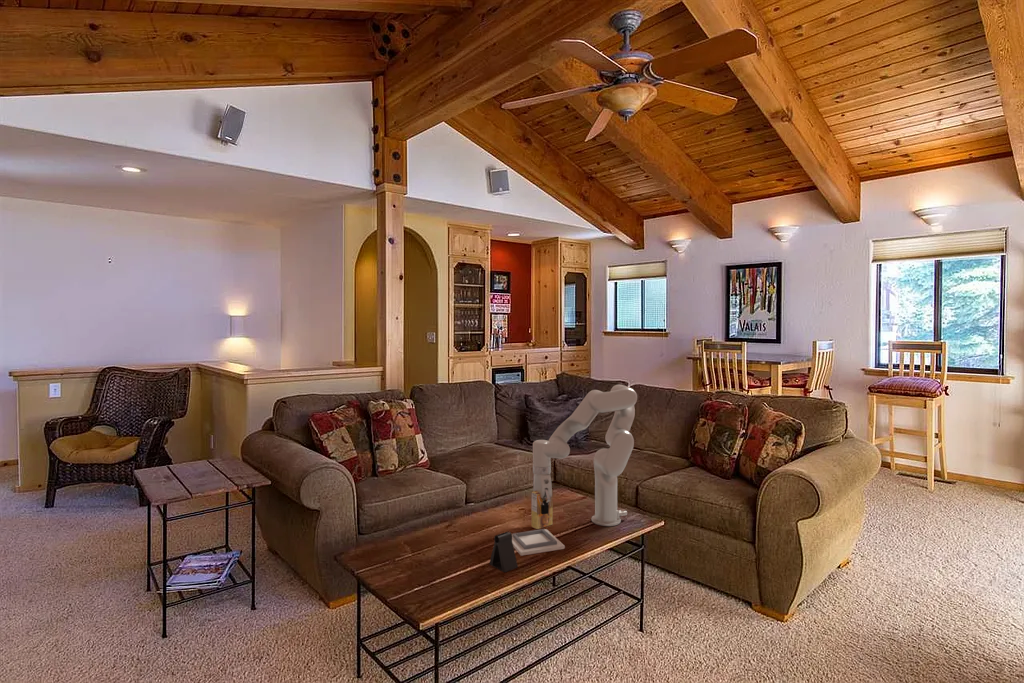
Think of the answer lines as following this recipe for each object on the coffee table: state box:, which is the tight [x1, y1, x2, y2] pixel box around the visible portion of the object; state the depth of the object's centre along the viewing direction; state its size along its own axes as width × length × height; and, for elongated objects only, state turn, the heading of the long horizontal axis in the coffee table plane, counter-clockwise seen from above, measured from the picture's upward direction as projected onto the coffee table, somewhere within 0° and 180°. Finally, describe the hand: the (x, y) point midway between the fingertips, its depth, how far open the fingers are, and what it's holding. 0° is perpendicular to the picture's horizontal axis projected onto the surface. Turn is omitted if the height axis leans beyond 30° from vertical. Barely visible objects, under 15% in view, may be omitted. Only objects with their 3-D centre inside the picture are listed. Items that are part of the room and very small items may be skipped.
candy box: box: [530, 489, 554, 530], centre depth 250 cm, size 9×4×15 cm, turn 129°
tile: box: [511, 528, 566, 557], centre depth 232 cm, size 18×18×2 cm
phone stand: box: [488, 531, 519, 573], centre depth 212 cm, size 9×6×12 cm, turn 40°
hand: (542, 510), depth 250 cm, fingers closed on candy box, 5 cm apart
